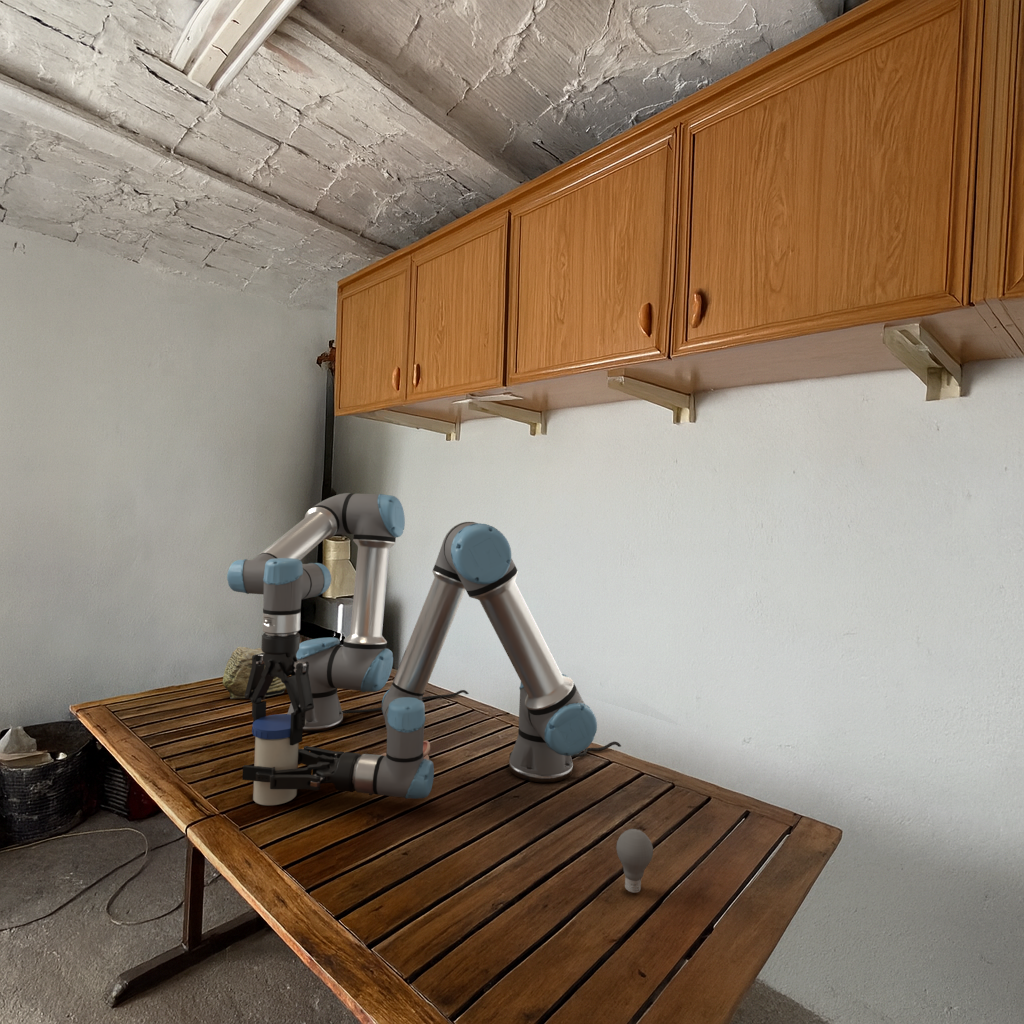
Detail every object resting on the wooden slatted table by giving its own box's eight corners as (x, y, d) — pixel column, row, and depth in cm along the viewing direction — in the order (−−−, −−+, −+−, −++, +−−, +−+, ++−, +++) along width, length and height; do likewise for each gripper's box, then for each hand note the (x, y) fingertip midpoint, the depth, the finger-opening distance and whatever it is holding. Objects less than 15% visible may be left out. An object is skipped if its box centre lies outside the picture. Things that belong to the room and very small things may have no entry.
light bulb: (610, 879, 108) (613, 822, 108) (644, 879, 109) (647, 822, 109) (619, 902, 102) (622, 840, 102) (655, 901, 103) (658, 840, 103)
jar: (302, 786, 138) (304, 718, 138) (288, 806, 129) (291, 733, 129) (262, 785, 138) (264, 717, 137) (246, 804, 129) (248, 731, 129)
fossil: (218, 695, 195) (220, 647, 195) (278, 685, 208) (279, 640, 207) (228, 703, 189) (230, 653, 188) (289, 692, 201) (290, 645, 201)
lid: (278, 719, 140) (279, 710, 140) (312, 728, 135) (313, 719, 135) (241, 733, 131) (241, 724, 131) (276, 743, 127) (276, 734, 126)
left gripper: (228, 628, 134) (224, 732, 135) (308, 643, 125) (304, 755, 125) (256, 623, 141) (252, 722, 141) (335, 636, 131) (330, 743, 132)
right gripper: (337, 816, 121) (226, 804, 123) (374, 769, 142) (279, 760, 145) (339, 777, 121) (227, 766, 123) (376, 736, 142) (280, 727, 144)
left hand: (277, 737), depth 133 cm, fingers closed on lid, 10 cm apart
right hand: (255, 762), depth 134 cm, fingers closed on jar, 9 cm apart
